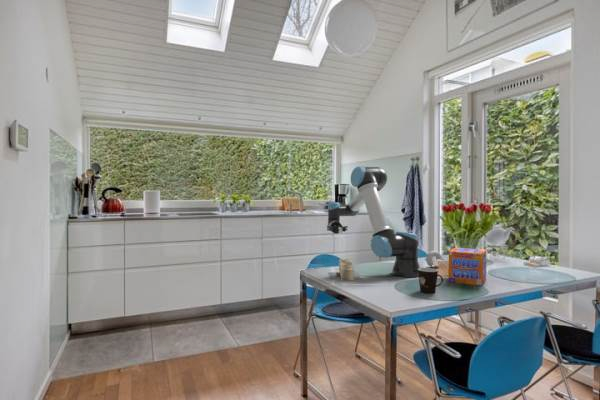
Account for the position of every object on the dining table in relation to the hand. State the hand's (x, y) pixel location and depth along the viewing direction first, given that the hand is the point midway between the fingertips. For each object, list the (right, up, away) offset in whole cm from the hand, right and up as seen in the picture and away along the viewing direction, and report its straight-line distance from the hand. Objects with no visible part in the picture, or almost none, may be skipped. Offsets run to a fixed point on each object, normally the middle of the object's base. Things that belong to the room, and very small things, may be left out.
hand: (340, 230), depth 206 cm
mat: (0, -23, -13) cm, 27 cm away
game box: (+62, -24, -21) cm, 70 cm away
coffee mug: (+35, -24, -44) cm, 61 cm away
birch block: (+1, -17, -12) cm, 21 cm away
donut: (+57, -23, +12) cm, 63 cm away
